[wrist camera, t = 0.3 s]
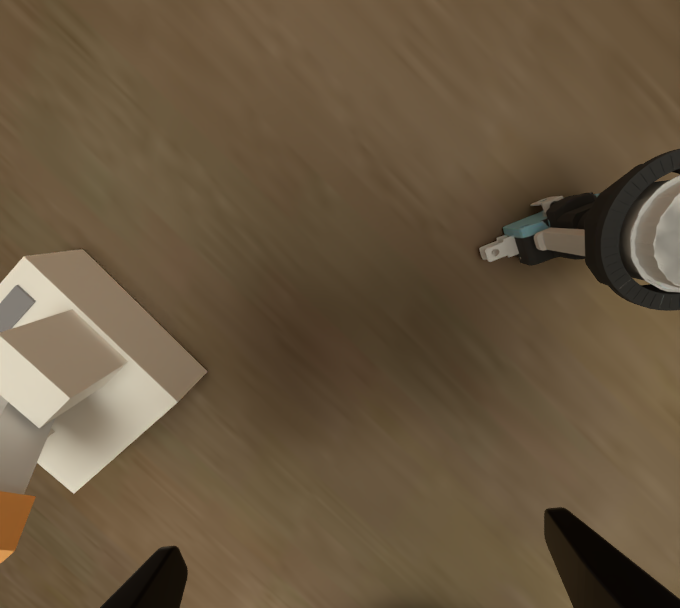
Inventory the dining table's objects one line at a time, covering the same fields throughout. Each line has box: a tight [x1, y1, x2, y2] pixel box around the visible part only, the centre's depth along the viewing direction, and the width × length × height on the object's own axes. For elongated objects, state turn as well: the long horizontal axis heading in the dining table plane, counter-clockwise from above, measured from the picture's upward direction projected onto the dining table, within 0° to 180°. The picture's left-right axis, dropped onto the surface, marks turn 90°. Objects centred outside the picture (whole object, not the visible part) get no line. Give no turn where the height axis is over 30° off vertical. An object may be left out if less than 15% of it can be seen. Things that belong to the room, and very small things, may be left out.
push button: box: [479, 149, 680, 310], centre depth 15 cm, size 7×5×10 cm
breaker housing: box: [0, 249, 208, 493], centre depth 20 cm, size 11×10×8 cm
